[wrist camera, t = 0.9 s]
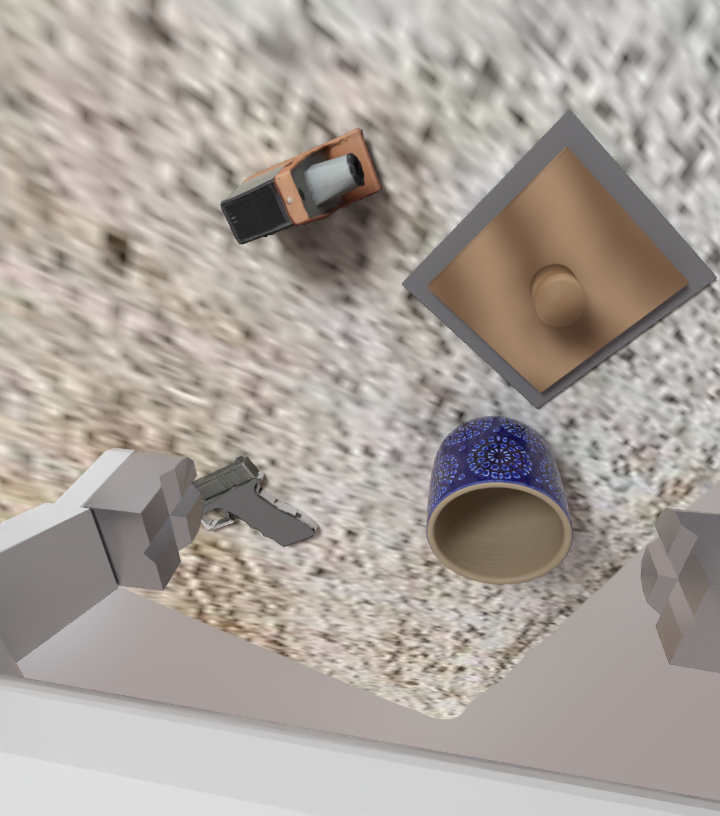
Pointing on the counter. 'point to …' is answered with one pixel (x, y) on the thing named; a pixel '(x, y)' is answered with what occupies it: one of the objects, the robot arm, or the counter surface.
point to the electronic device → (302, 188)
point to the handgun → (251, 504)
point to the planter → (497, 503)
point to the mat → (541, 154)
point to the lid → (556, 274)
